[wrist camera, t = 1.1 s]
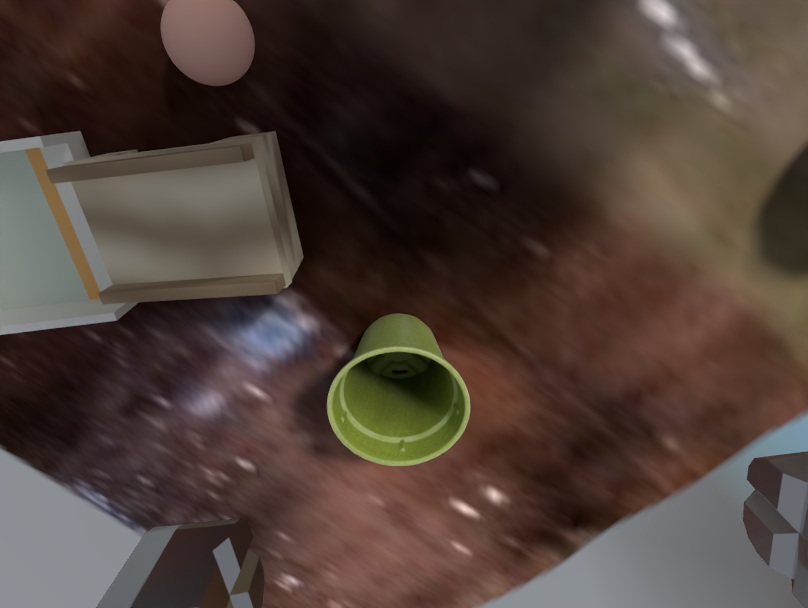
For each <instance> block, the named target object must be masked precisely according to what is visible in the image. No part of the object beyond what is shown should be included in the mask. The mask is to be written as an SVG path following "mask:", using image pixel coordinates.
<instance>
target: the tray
mask: <svg viewBox="0 0 808 608" xmlns="http://www.w3.org/2000/svg"><path fill="white" fill-rule="evenodd" d="M85 158H90V154H89V152H88V149H87V147H86V144H85V141H84V139H83V136H82V134H81V131H76V132H68V133H61V134H53V135H45V136H38V137H30V138H23V139H16V140H8V141H1V142H0V335H4V334H12V333H20V332H28V331H36V330H45V329H53V328H61V327H69V326H77V325H85V324H93V323H101V322H109V321H117V320H118V319H119V318H121V317H122V316H123V315H124V314H125V313H127V312H128V311H129V310H130V309H131V308H133V307H134V306H135V305H136V304H137V303H138V302H135V303H118V304H102V302H101V299H100V297H99V295H98V293H99V292H101V291H103V290H104V289H106V288H108V287H110V286H112V285H113V284H112V281H111V279H110V277H109V274H108V272H107V269H106V267H105V264H104V262H103V259H102V257H101V255H100V252H99V250H98V247H97V245H96V242H95V240H94V237H93V235H92V233H91V230H90V228H89V225H88V223H87V220H86V218H85V215H84V213H83V211H82V208H81V206H80V203H79V201H78V198H77V196H76V193H75V191H74V189H73V186H72V184H71V182H64V183H55V184H51V182H50V180H49V177H48V175H47V173H46V170H48V169H52V168H57V167H62V166H64V164H63V162H68V161H73V160H80V159H85Z"/></svg>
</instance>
